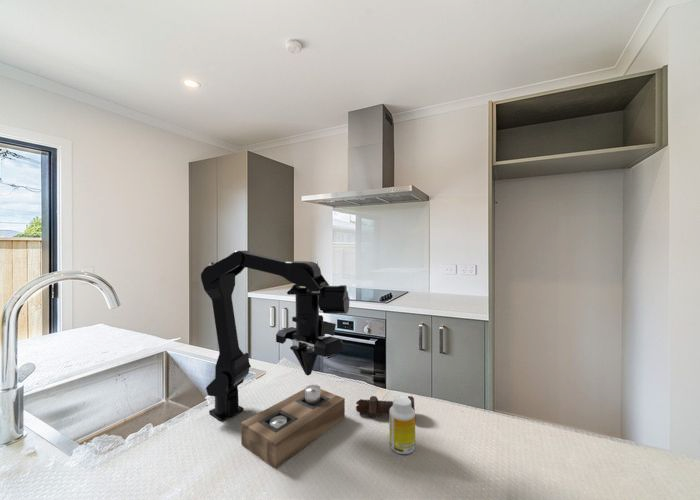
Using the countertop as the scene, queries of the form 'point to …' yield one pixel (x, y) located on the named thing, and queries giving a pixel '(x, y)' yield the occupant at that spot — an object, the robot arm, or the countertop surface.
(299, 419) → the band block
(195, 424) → the countertop surface
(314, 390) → the peg short
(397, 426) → the supplement bottle
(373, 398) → the bolt
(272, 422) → the peg tall
